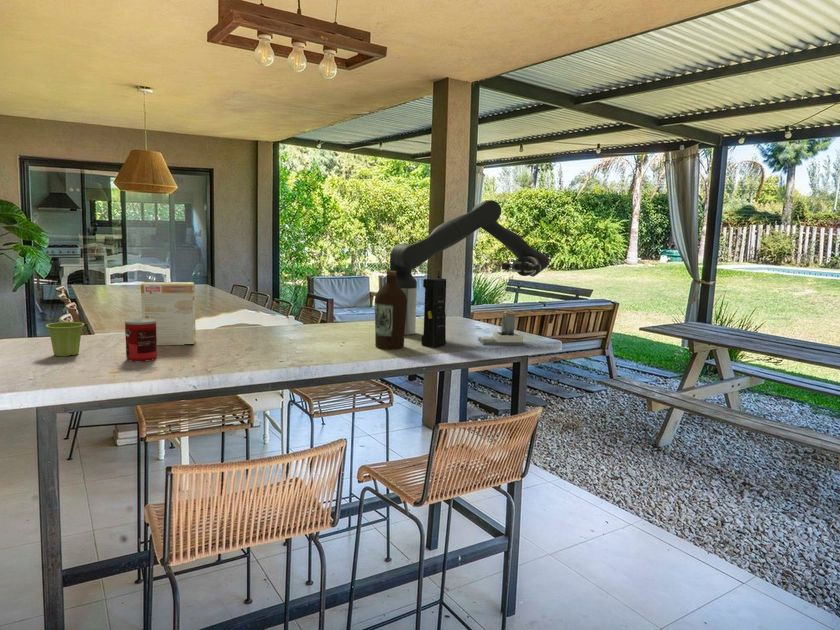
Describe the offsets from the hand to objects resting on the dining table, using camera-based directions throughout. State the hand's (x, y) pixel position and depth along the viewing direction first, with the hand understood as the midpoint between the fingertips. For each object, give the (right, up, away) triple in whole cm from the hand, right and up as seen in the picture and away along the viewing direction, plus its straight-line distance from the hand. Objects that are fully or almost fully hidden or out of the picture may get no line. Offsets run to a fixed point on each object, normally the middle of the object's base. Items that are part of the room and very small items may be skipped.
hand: (517, 267), depth 218 cm
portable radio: (-32, -28, -18) cm, 46 cm away
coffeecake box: (-116, -27, -30) cm, 123 cm away
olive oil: (-46, -28, -23) cm, 59 cm away
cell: (-5, -26, -9) cm, 28 cm away
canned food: (-114, -30, -52) cm, 129 cm away
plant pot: (-136, -29, -50) cm, 148 cm away
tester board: (-7, -27, -9) cm, 30 cm away
